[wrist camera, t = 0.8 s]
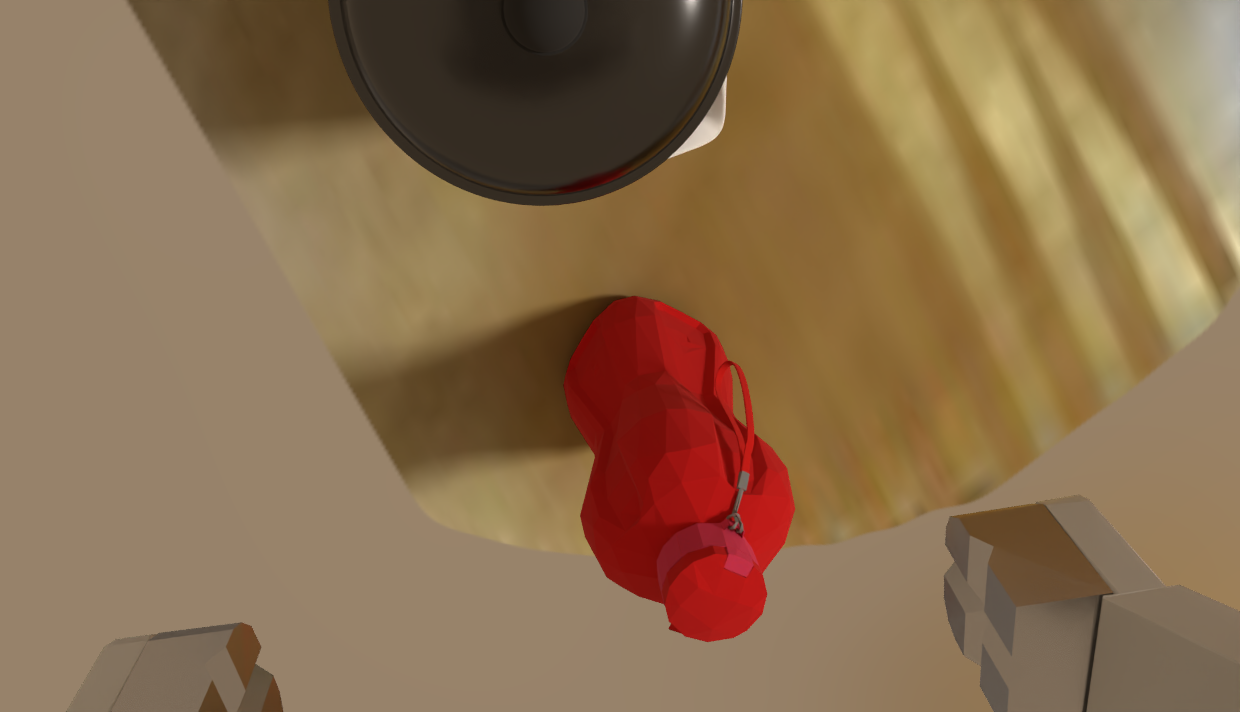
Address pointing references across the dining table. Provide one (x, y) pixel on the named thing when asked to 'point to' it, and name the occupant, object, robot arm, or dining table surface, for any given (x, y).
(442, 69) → the coffee press
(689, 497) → the water bottle
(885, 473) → the dining table surface
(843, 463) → the dining table surface
